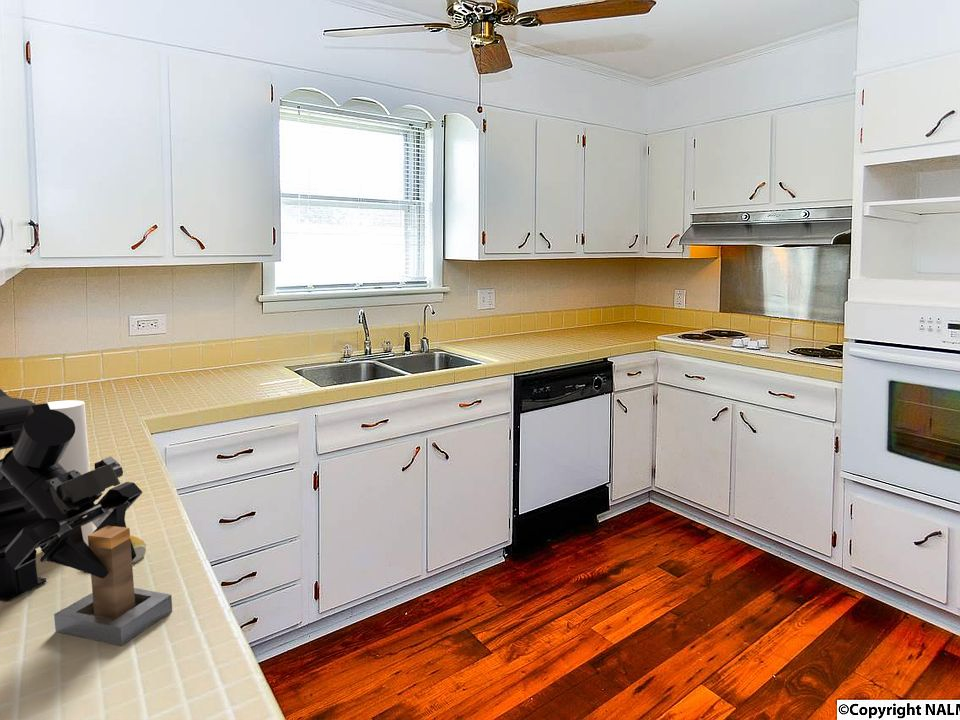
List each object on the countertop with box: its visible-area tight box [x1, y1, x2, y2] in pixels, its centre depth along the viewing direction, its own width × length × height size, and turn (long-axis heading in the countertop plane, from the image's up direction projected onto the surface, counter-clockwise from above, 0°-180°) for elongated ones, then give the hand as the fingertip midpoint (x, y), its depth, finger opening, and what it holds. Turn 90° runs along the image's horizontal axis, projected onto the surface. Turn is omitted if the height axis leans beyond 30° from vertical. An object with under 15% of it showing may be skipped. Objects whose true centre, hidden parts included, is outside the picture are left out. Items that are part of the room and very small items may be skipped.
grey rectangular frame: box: [53, 587, 173, 647], centre depth 92 cm, size 11×9×2 cm
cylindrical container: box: [46, 399, 96, 546], centre depth 114 cm, size 7×7×25 cm
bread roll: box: [130, 535, 147, 564], centre depth 111 cm, size 8×9×4 cm
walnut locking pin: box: [88, 526, 135, 620], centre depth 91 cm, size 4×4×13 cm
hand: (120, 567), depth 90 cm, fingers open, 5 cm apart
